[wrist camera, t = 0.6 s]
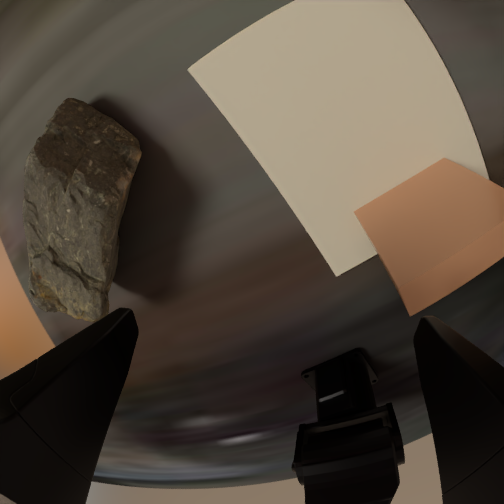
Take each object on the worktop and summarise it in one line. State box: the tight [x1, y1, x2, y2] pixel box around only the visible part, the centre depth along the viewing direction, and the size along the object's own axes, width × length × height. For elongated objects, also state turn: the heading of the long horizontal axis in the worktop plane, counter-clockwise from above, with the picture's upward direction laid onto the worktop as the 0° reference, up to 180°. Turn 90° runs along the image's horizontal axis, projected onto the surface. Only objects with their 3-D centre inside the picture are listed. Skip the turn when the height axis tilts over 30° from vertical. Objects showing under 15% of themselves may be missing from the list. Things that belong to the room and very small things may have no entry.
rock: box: [23, 98, 142, 322], centre depth 19 cm, size 17×7×10 cm
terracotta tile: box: [354, 158, 504, 316], centre depth 15 cm, size 2×8×9 cm, turn 125°
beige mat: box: [187, 0, 489, 277], centre depth 17 cm, size 18×15×1 cm
